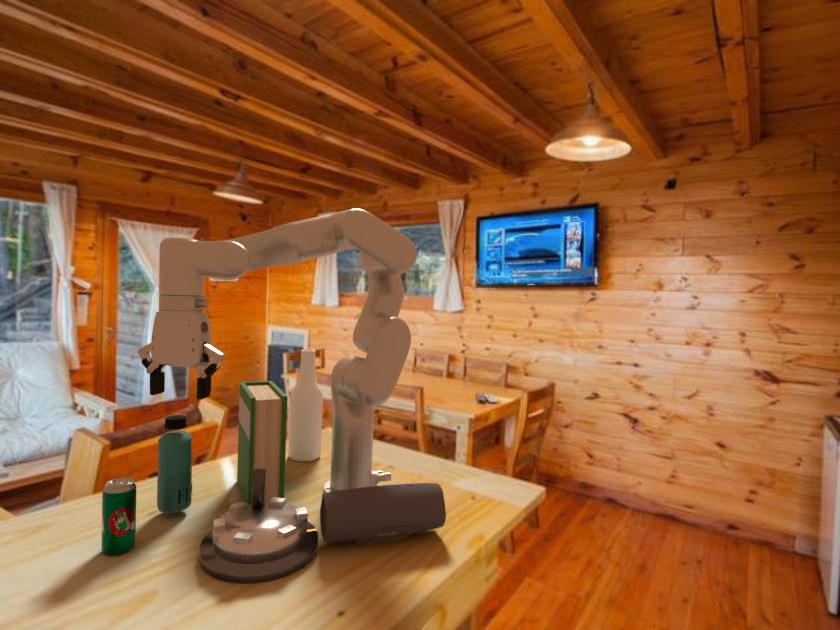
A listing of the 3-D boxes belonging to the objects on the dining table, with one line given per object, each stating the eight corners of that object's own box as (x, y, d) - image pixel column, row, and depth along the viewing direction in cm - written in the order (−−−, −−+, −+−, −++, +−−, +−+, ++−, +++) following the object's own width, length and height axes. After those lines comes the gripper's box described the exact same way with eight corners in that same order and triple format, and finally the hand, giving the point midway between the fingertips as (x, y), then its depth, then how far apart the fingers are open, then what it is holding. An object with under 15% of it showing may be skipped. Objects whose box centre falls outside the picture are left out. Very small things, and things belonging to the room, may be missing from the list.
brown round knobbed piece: (298, 512, 98) (300, 464, 97) (314, 553, 83) (317, 496, 83) (212, 524, 91) (213, 472, 91) (212, 570, 77) (214, 509, 76)
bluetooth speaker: (429, 520, 102) (431, 473, 101) (445, 542, 93) (448, 491, 92) (318, 533, 94) (320, 482, 94) (325, 558, 86) (327, 503, 85)
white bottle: (324, 453, 140) (328, 348, 138) (315, 463, 131) (319, 352, 129) (294, 450, 140) (298, 347, 139) (283, 461, 132) (287, 350, 130)
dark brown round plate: (306, 517, 100) (307, 506, 100) (328, 569, 82) (329, 556, 82) (200, 532, 92) (200, 520, 92) (198, 594, 74) (198, 580, 74)
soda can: (111, 541, 88) (112, 476, 87) (140, 542, 88) (141, 476, 88) (95, 557, 83) (96, 487, 82) (126, 557, 83) (127, 488, 82)
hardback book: (283, 506, 105) (287, 396, 104) (247, 512, 101) (250, 398, 100) (268, 477, 120) (271, 380, 119) (237, 481, 117) (239, 382, 116)
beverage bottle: (177, 522, 96) (179, 422, 95) (148, 518, 97) (149, 418, 96) (198, 508, 102) (201, 414, 101) (171, 504, 103) (173, 411, 102)
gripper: (235, 306, 93) (233, 395, 94) (154, 302, 96) (153, 388, 97) (211, 307, 86) (209, 404, 87) (125, 303, 89) (124, 396, 90)
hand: (180, 395), depth 92 cm, fingers open, 9 cm apart
